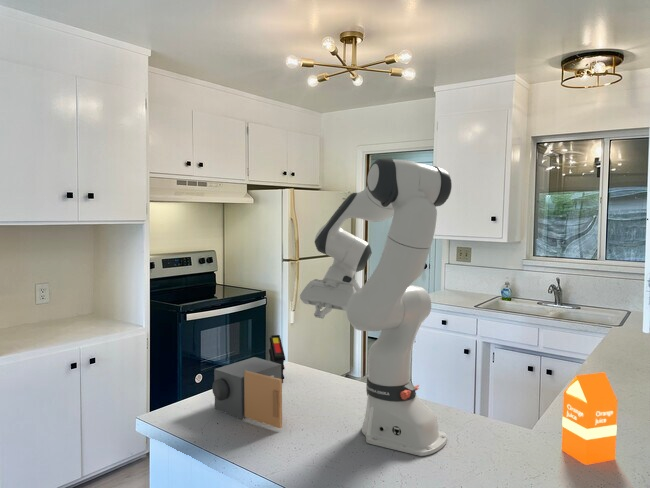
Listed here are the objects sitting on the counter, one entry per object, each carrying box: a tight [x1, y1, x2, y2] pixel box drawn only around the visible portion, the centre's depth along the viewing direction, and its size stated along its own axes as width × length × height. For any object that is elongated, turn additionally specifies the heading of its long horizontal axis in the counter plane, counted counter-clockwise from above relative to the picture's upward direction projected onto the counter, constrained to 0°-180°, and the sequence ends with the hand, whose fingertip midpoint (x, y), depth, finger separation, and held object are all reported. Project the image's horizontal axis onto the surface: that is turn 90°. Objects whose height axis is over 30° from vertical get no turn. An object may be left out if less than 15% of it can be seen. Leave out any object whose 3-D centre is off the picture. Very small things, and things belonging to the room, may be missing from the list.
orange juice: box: [561, 371, 618, 466], centre depth 120 cm, size 8×9×20 cm
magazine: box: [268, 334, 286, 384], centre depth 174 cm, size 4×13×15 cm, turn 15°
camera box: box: [211, 356, 281, 420], centre depth 149 cm, size 12×18×12 cm
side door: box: [244, 370, 283, 429], centre depth 136 cm, size 2×14×13 cm, turn 56°
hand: (318, 317), depth 156 cm, fingers closed
